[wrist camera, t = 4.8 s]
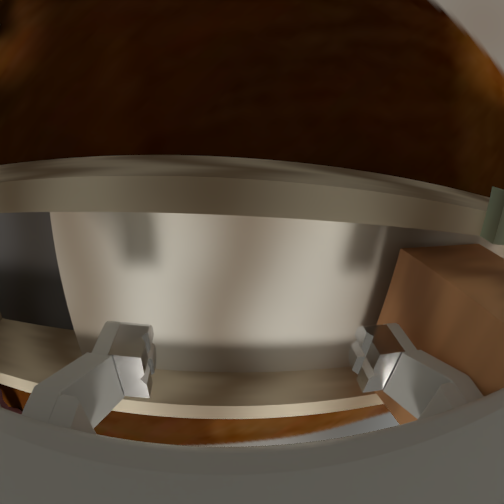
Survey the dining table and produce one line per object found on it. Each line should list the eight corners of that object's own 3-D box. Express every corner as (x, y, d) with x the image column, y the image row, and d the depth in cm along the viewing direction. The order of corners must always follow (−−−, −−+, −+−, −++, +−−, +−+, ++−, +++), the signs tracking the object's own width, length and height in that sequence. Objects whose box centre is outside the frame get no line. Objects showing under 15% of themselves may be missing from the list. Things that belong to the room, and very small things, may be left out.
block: (358, 370, 12) (432, 468, 7) (400, 248, 10) (530, 346, 5) (439, 341, 14) (505, 408, 9) (478, 243, 12) (569, 304, 7)
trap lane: (4, 338, 14) (-31, 392, 10) (-39, 153, 10) (-107, 179, 5) (518, 328, 20) (549, 361, 15) (562, 208, 15) (604, 233, 10)
